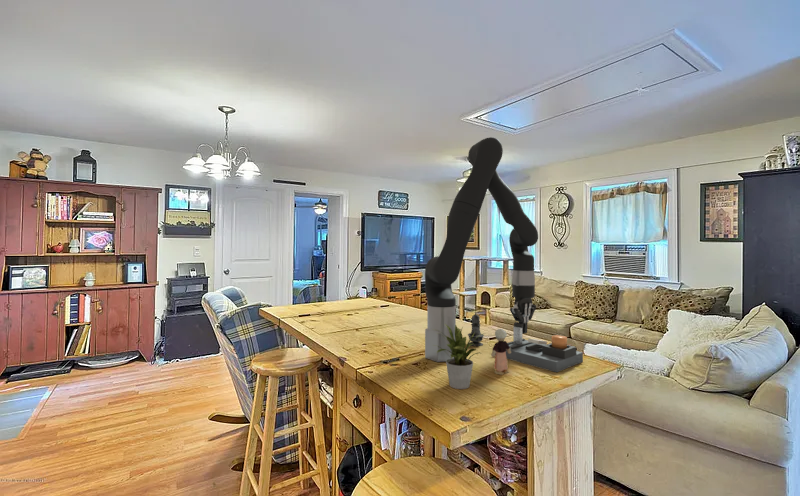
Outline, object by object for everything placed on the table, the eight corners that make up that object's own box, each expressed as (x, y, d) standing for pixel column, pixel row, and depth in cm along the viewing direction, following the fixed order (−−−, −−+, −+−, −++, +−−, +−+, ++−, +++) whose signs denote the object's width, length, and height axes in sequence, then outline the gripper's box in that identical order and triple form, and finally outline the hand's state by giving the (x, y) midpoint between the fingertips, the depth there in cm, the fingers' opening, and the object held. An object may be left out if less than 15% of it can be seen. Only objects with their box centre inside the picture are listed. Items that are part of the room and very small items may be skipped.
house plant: (418, 380, 102) (418, 320, 102) (458, 372, 109) (458, 316, 109) (450, 398, 90) (450, 330, 89) (493, 388, 96) (493, 324, 96)
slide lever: (521, 345, 126) (521, 323, 126) (513, 343, 129) (513, 322, 129) (524, 344, 127) (524, 323, 127) (516, 342, 130) (516, 321, 130)
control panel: (556, 372, 108) (556, 353, 108) (494, 355, 126) (494, 338, 126) (583, 361, 118) (583, 344, 118) (521, 347, 136) (521, 332, 136)
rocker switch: (538, 343, 119) (538, 340, 119) (527, 341, 122) (528, 338, 122) (546, 344, 122) (546, 341, 122) (536, 342, 125) (536, 339, 125)
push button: (562, 349, 113) (562, 339, 113) (548, 346, 117) (548, 336, 117) (569, 347, 116) (569, 337, 116) (556, 344, 119) (556, 334, 119)
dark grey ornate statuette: (482, 342, 142) (482, 311, 142) (484, 346, 136) (484, 313, 136) (467, 342, 143) (467, 310, 143) (468, 346, 137) (468, 313, 137)
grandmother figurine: (501, 368, 112) (501, 326, 112) (513, 371, 110) (513, 328, 109) (487, 374, 107) (487, 330, 107) (499, 377, 104) (499, 332, 104)
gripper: (524, 281, 137) (524, 328, 137) (502, 283, 129) (502, 333, 129) (543, 283, 132) (543, 332, 132) (522, 285, 123) (521, 338, 123)
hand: (523, 333), depth 130 cm, fingers closed
